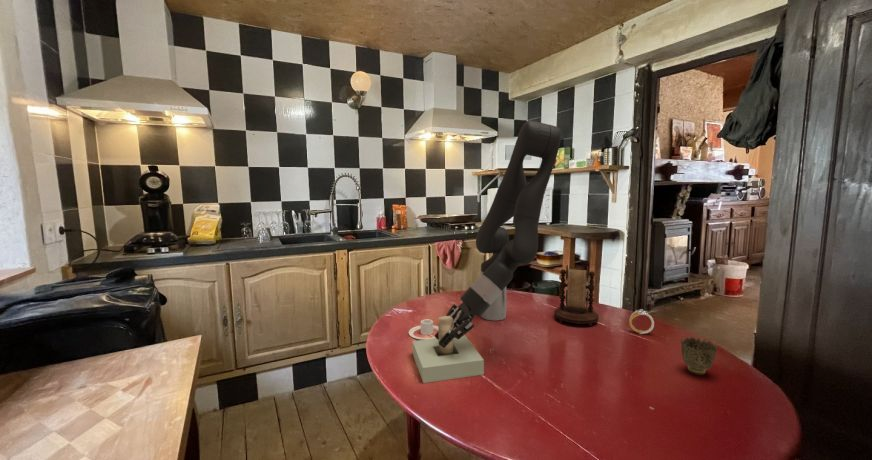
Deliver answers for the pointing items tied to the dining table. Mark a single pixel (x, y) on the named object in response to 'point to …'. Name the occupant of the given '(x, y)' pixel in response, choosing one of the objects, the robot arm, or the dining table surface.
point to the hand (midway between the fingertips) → (439, 341)
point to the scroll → (576, 297)
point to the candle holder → (424, 329)
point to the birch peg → (443, 328)
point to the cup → (698, 355)
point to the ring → (642, 312)
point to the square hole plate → (447, 360)
